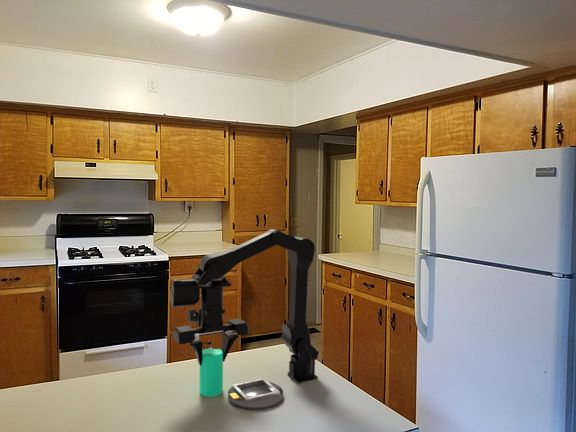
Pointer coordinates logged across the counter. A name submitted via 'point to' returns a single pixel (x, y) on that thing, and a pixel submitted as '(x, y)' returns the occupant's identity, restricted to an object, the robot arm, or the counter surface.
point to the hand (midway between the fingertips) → (211, 363)
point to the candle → (211, 372)
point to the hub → (255, 395)
